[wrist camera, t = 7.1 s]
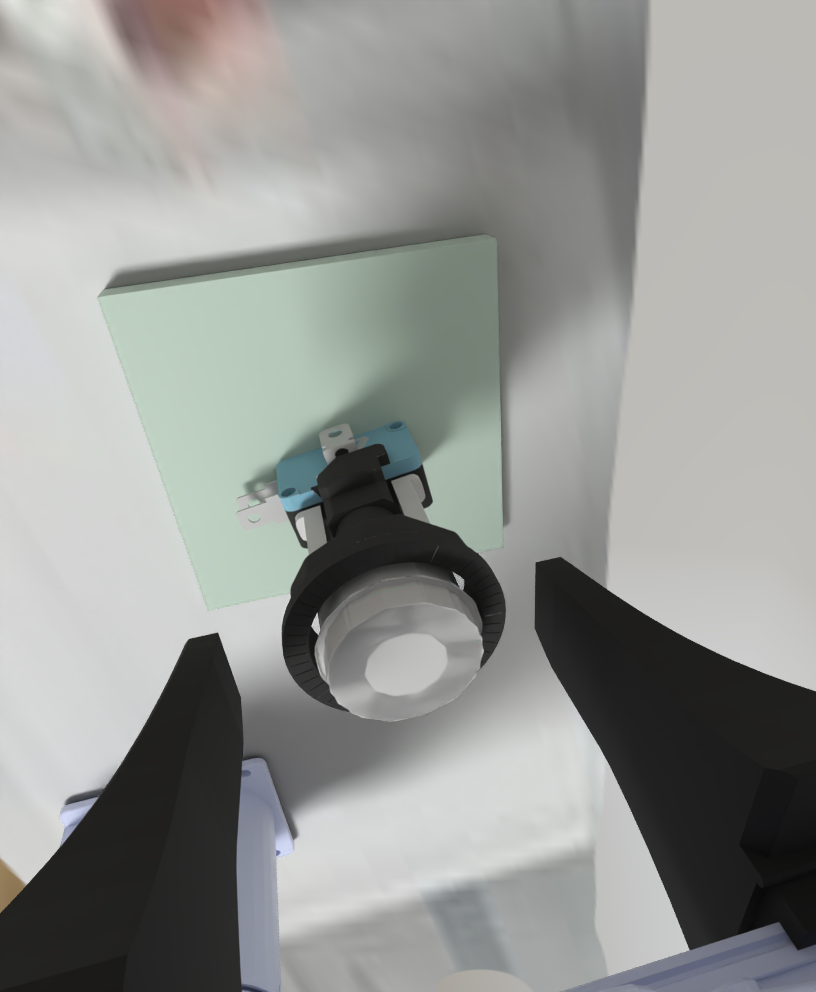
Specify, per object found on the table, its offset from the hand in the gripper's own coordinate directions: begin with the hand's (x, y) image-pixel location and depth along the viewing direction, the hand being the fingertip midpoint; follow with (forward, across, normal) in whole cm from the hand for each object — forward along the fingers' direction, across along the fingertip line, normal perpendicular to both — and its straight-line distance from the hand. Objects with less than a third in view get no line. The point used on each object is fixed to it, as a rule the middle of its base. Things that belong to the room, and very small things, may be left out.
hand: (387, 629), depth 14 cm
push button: (+10, 0, +1) cm, 10 cm away
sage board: (+10, 0, 0) cm, 10 cm away
